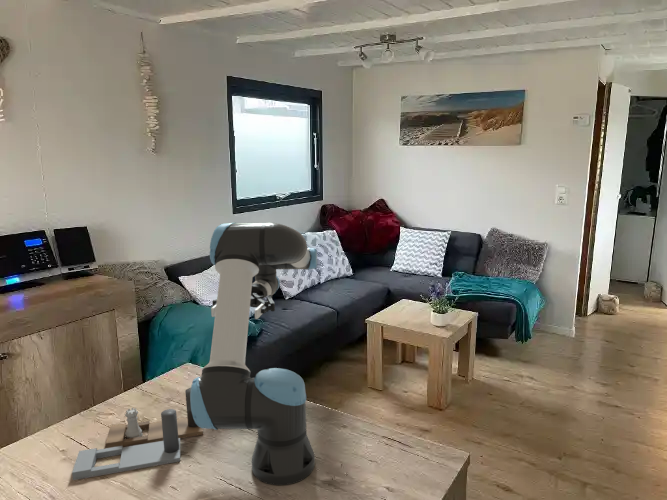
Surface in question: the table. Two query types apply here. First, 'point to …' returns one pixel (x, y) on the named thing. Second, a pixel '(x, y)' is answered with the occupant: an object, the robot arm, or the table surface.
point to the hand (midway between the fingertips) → (234, 313)
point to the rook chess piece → (132, 424)
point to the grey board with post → (133, 453)
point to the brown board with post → (154, 430)
